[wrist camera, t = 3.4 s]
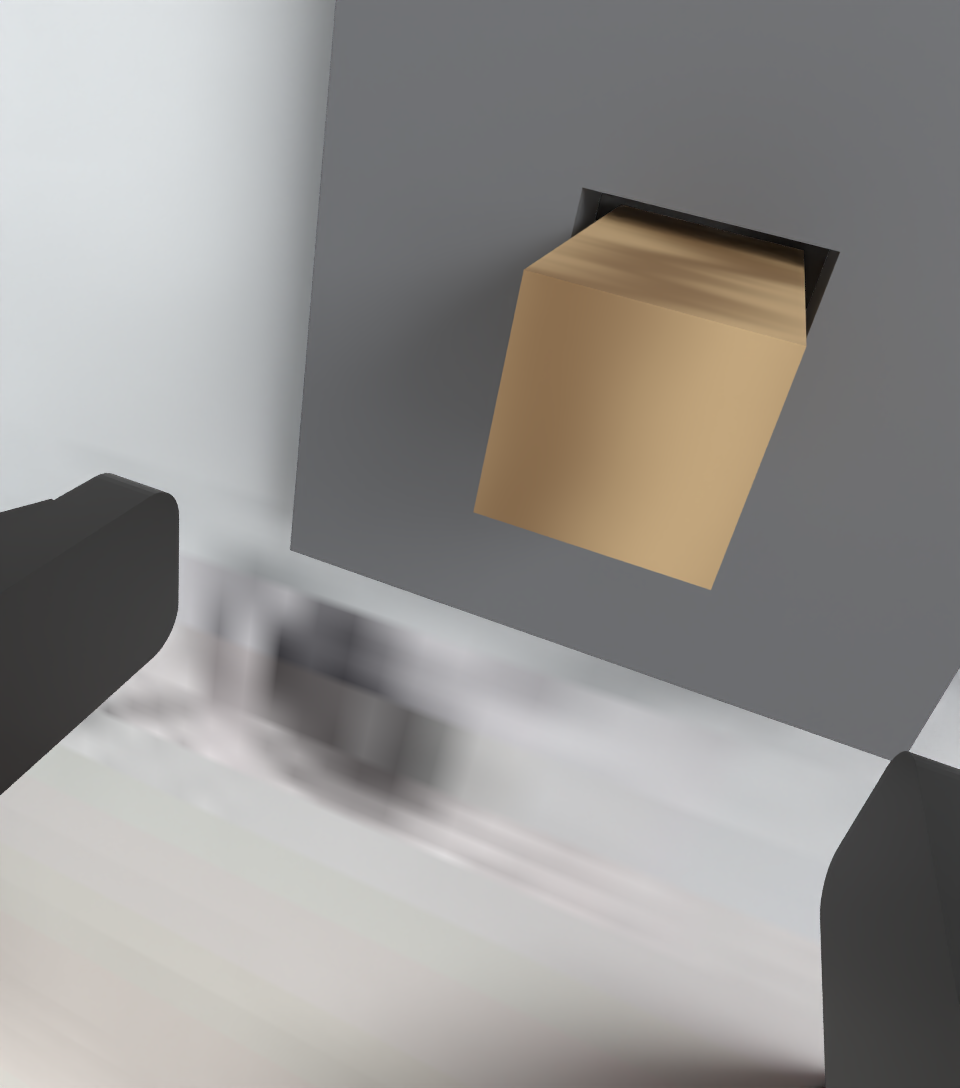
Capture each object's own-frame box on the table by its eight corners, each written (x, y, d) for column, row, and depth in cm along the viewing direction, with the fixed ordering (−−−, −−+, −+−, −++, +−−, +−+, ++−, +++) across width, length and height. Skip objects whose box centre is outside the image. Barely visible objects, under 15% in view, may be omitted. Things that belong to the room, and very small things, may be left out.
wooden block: (804, 250, 23) (806, 345, 14) (740, 422, 25) (710, 589, 17) (621, 204, 24) (523, 269, 15) (577, 375, 26) (473, 512, 18)
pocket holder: (1310, -31, 18) (1396, -50, 15) (891, 702, 28) (900, 763, 25) (407, -189, 21) (354, -225, 19) (331, 512, 31) (290, 549, 29)
